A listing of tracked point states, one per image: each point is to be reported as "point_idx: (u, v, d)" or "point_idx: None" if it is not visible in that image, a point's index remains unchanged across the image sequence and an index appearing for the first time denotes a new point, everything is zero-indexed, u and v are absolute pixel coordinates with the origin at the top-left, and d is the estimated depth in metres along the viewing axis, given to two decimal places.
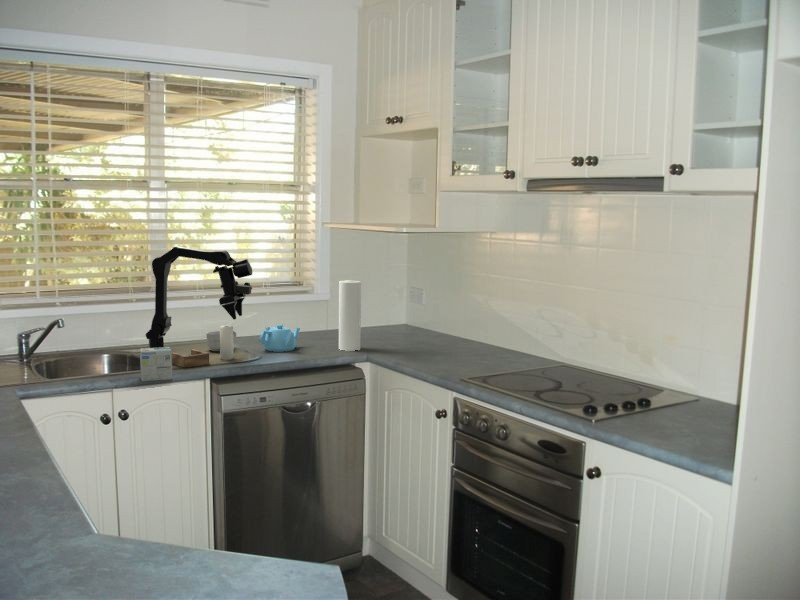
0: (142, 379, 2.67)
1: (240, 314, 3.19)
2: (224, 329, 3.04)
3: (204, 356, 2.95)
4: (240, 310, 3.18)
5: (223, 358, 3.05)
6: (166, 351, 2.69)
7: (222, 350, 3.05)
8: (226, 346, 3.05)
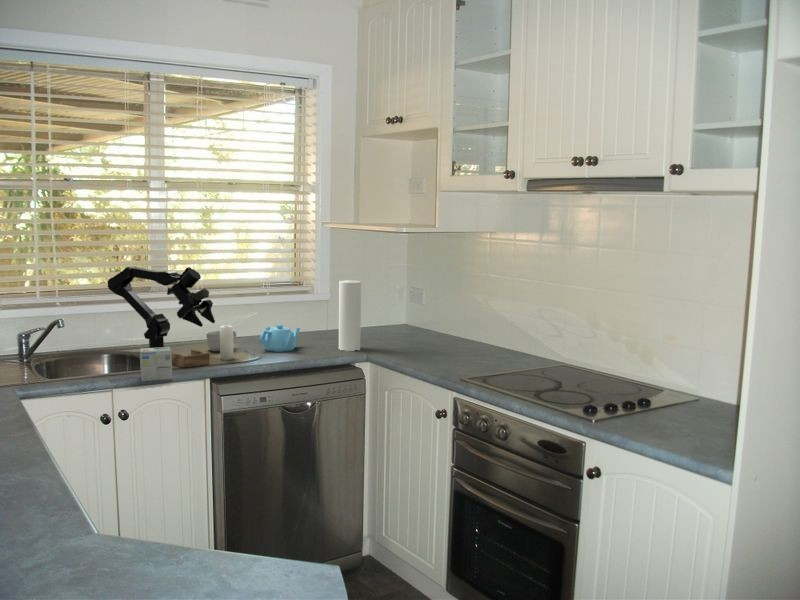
0: (142, 379, 2.67)
1: (213, 321, 3.13)
2: (224, 329, 3.04)
3: (204, 356, 2.95)
4: (211, 317, 3.13)
5: (223, 358, 3.05)
6: (166, 351, 2.69)
7: (222, 350, 3.05)
8: (226, 346, 3.05)
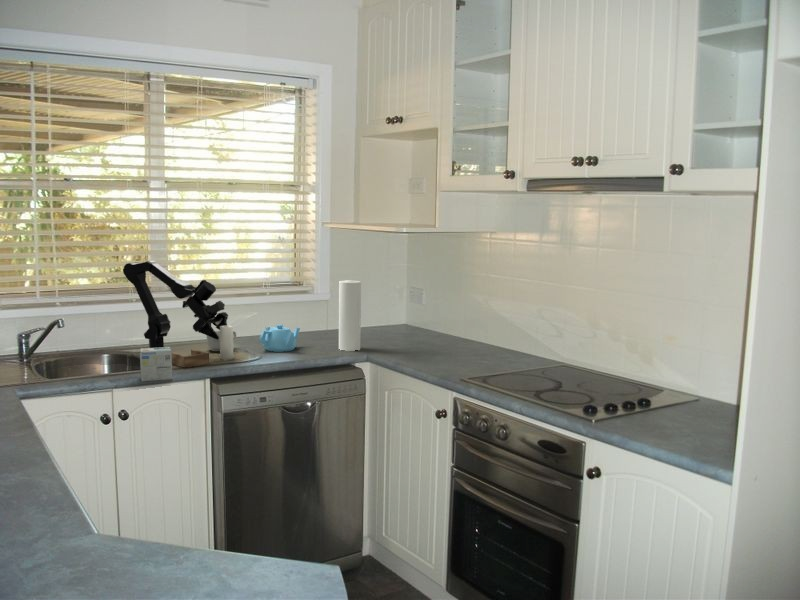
0: (142, 379, 2.67)
1: None
2: (224, 329, 3.04)
3: (204, 356, 2.95)
4: None
5: (223, 358, 3.05)
6: (166, 351, 2.69)
7: (222, 350, 3.05)
8: (226, 346, 3.05)
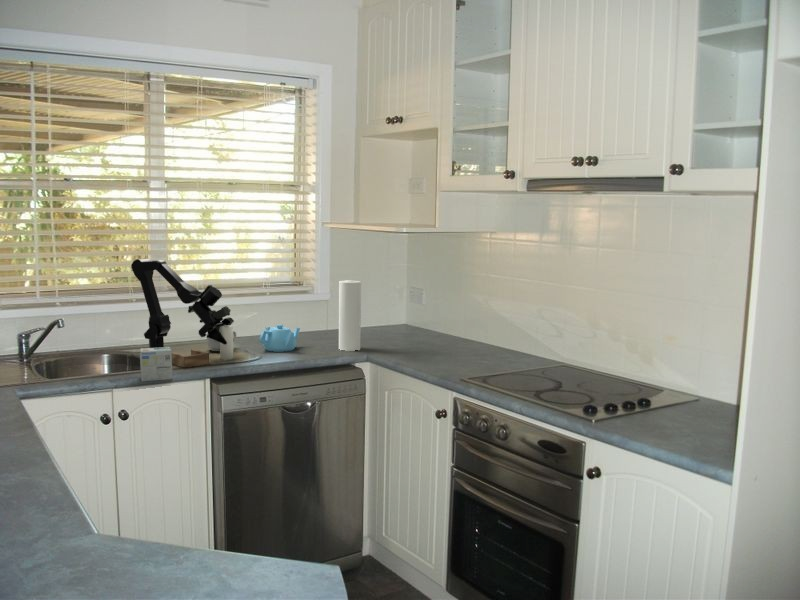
0: (142, 379, 2.67)
1: None
2: (224, 329, 3.04)
3: (204, 356, 2.95)
4: None
5: (223, 358, 3.05)
6: (166, 351, 2.69)
7: (222, 350, 3.05)
8: (226, 346, 3.05)
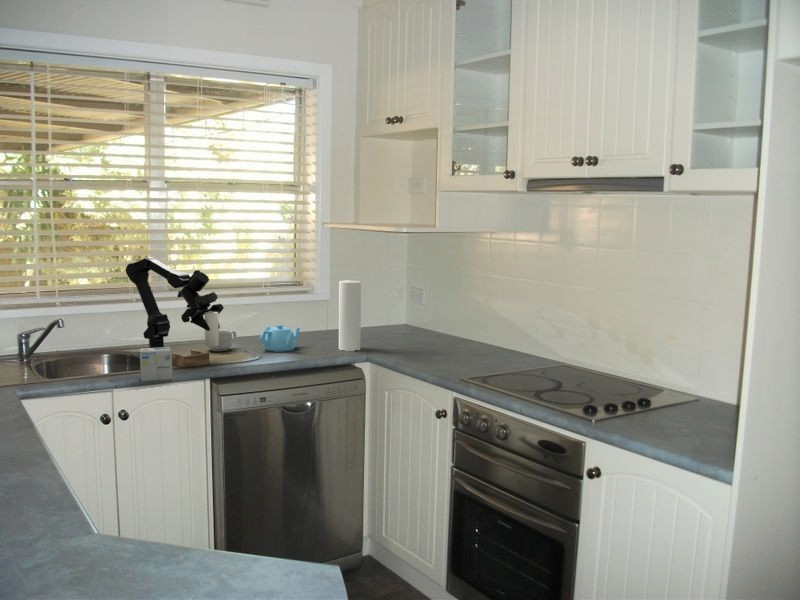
0: (142, 379, 2.67)
1: (218, 327, 3.03)
2: (208, 315, 2.98)
3: (204, 356, 2.95)
4: None
5: (207, 345, 3.00)
6: (166, 351, 2.69)
7: (206, 336, 3.00)
8: (210, 333, 2.99)
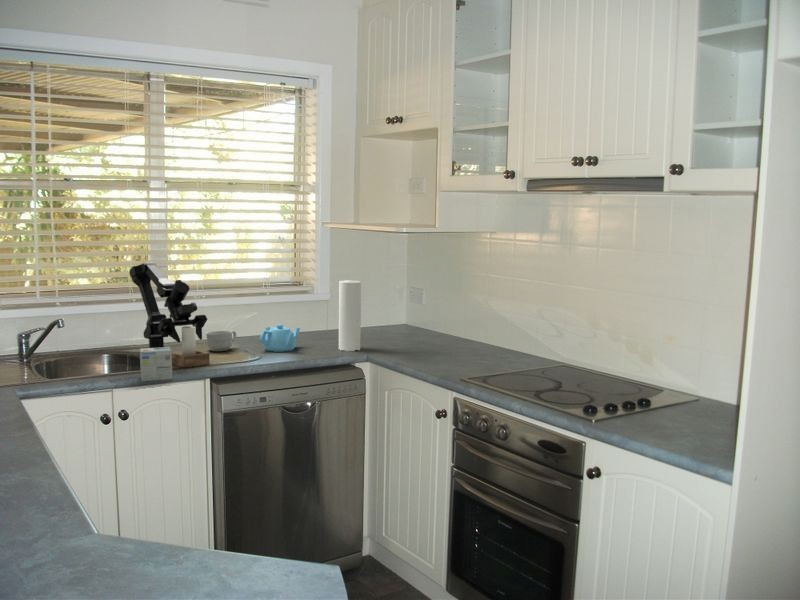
0: (142, 379, 2.67)
1: (200, 337, 2.99)
2: (183, 330, 2.94)
3: (204, 356, 2.95)
4: (199, 333, 2.99)
5: None
6: (166, 351, 2.69)
7: (182, 351, 2.96)
8: (185, 347, 2.94)
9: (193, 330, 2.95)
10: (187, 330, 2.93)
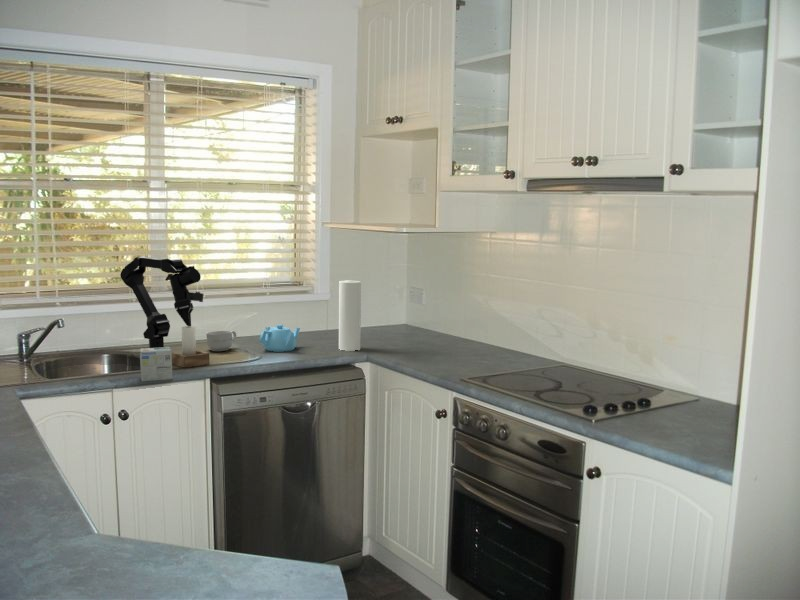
0: (142, 379, 2.67)
1: (189, 325, 3.11)
2: (183, 330, 2.94)
3: (204, 356, 2.95)
4: (189, 321, 3.12)
5: None
6: (166, 351, 2.69)
7: (182, 351, 2.96)
8: (185, 347, 2.94)
9: (193, 330, 2.95)
10: (187, 330, 2.93)
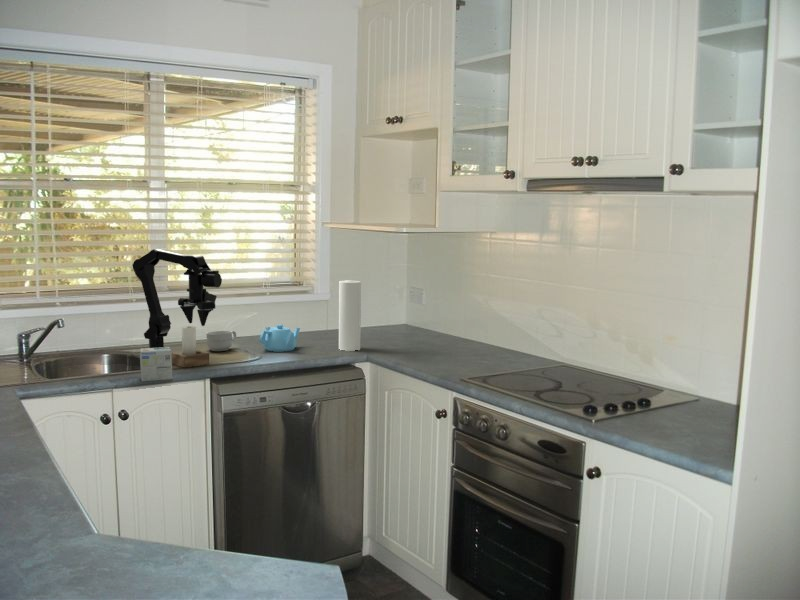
0: (142, 379, 2.67)
1: (191, 321, 3.13)
2: (183, 329, 2.94)
3: (204, 356, 2.95)
4: (191, 317, 3.13)
5: None
6: (166, 351, 2.69)
7: (182, 351, 2.96)
8: (185, 347, 2.94)
9: (193, 330, 2.95)
10: (187, 330, 2.93)
